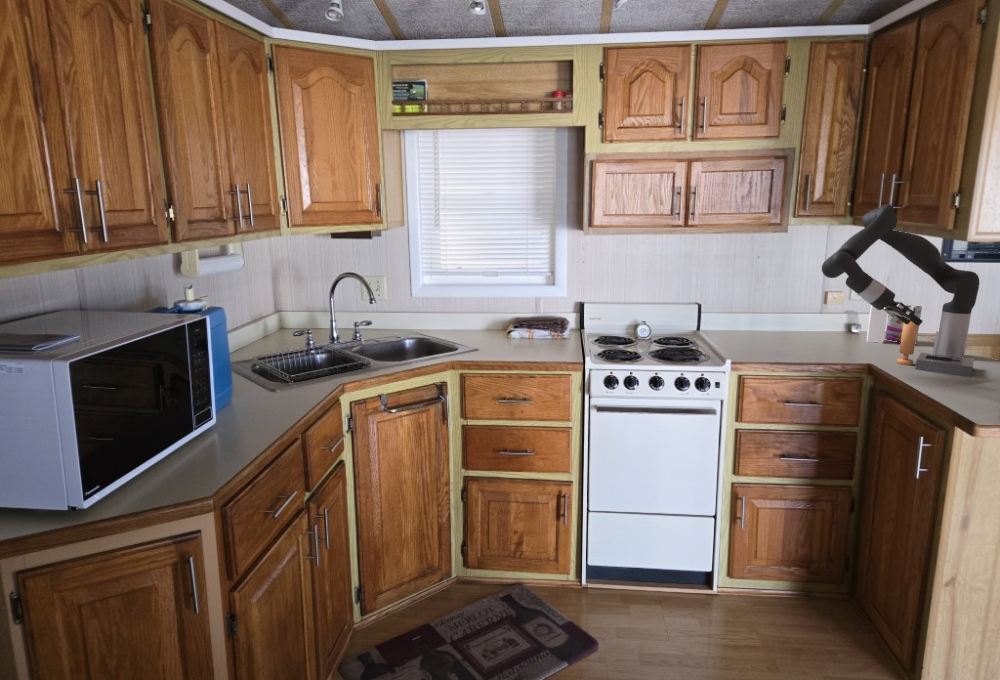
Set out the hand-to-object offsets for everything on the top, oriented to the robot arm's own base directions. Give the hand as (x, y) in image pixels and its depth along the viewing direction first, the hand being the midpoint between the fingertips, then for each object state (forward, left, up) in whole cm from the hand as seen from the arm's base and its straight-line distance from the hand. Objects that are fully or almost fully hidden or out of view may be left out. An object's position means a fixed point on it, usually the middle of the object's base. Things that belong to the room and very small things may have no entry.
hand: (914, 323), depth 224 cm
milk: (-45, +33, -17) cm, 58 cm away
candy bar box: (-41, +43, -17) cm, 62 cm away
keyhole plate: (+1, +15, -17) cm, 23 cm away
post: (-8, +8, -17) cm, 21 cm away
